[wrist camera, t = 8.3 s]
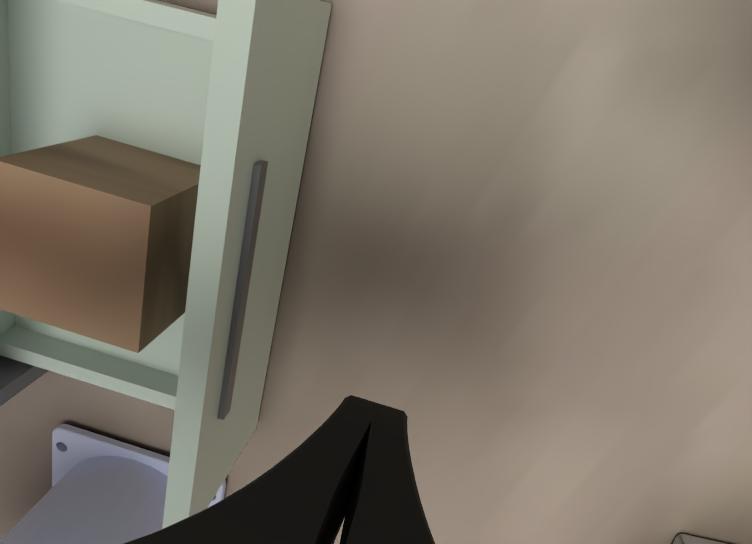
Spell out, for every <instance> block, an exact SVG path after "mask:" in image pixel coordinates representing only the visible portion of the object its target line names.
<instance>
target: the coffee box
mask: <svg viewBox="0 0 752 544" xmlns="http://www.w3.org/2000/svg"><path fill="white" fill-rule="evenodd" d="M673 544H727V543H722V542H717V541H712V540H708V539H704V538H699V537H695V536H691V535H686V534H678V535H677V536H676V538H675V540H674V542H673Z"/></svg>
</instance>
